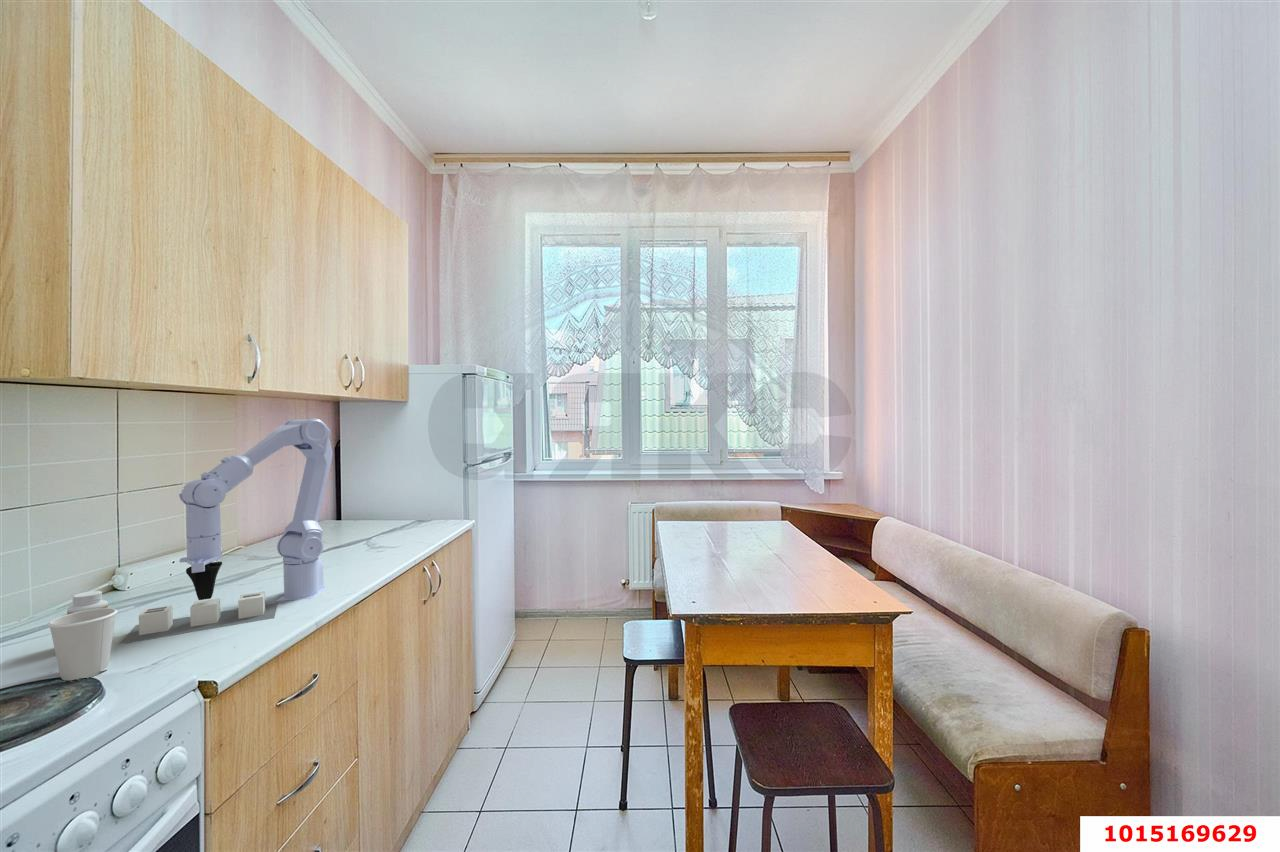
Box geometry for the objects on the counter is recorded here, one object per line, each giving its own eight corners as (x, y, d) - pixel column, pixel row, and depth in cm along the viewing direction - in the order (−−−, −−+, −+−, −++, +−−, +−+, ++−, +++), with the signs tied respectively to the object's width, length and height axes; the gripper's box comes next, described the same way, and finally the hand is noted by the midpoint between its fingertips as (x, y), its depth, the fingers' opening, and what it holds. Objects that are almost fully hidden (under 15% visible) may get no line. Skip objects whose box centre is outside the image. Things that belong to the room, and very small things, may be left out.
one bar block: (241, 613, 120) (240, 594, 120) (265, 609, 122) (264, 591, 122) (238, 618, 116) (238, 600, 116) (263, 614, 119) (262, 596, 119)
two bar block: (145, 628, 112) (144, 608, 112) (172, 623, 114) (172, 604, 114) (139, 635, 108) (138, 614, 108) (167, 630, 110) (167, 610, 110)
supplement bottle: (63, 654, 101) (62, 600, 101) (73, 644, 106) (71, 592, 106) (104, 647, 104) (103, 594, 104) (112, 637, 109) (110, 587, 109)
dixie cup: (91, 662, 97) (90, 607, 97) (132, 663, 96) (130, 608, 96) (34, 684, 89) (32, 624, 89) (78, 686, 88) (76, 625, 88)
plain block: (194, 620, 116) (194, 601, 116) (220, 616, 118) (220, 598, 118) (190, 626, 112) (190, 607, 112) (217, 622, 114) (216, 603, 114)
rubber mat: (278, 605, 127) (277, 602, 127) (274, 620, 116) (274, 617, 116) (136, 627, 114) (136, 625, 114) (118, 647, 104) (118, 644, 104)
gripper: (186, 532, 119) (188, 593, 119) (171, 544, 107) (173, 612, 107) (226, 528, 123) (228, 587, 123) (216, 539, 110) (217, 605, 110)
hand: (205, 598), depth 115 cm, fingers closed
